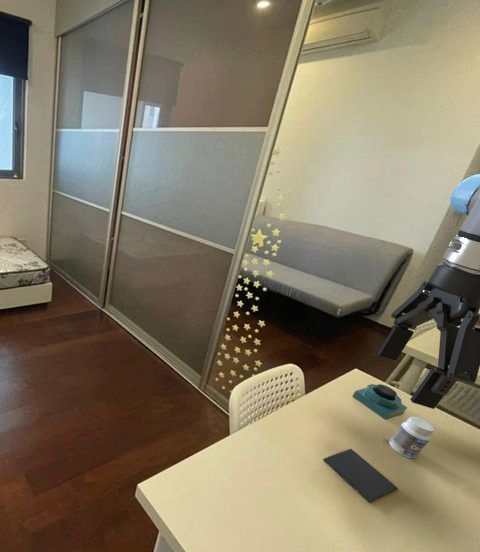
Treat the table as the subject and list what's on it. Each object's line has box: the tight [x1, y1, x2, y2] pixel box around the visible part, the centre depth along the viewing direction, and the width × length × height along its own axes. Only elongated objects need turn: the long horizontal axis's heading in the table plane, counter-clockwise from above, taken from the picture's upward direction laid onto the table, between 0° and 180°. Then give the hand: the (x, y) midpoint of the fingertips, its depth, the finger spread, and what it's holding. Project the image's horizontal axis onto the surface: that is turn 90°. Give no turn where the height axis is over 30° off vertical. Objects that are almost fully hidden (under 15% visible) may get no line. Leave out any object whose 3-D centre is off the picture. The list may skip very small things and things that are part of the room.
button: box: [374, 383, 398, 400], centre depth 84 cm, size 4×4×2 cm
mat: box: [323, 448, 399, 503], centre depth 66 cm, size 9×9×1 cm
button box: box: [352, 383, 408, 420], centre depth 85 cm, size 8×8×4 cm
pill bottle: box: [388, 416, 435, 459], centre depth 71 cm, size 5×5×8 cm
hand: (402, 378), depth 57 cm, fingers open, 13 cm apart
